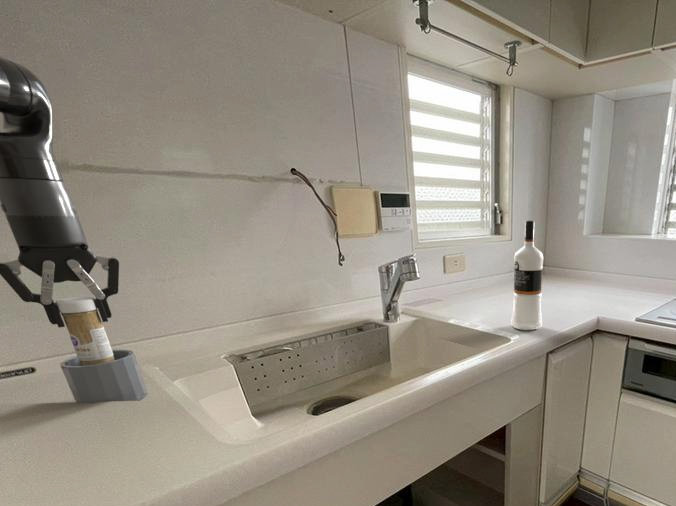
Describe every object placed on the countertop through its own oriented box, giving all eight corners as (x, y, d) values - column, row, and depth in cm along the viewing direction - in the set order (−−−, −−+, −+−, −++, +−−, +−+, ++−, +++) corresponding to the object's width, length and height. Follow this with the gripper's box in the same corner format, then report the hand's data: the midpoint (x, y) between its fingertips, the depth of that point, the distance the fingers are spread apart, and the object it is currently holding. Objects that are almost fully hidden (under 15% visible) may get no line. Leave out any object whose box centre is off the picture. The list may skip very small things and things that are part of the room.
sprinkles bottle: (77, 379, 68) (45, 301, 63) (103, 370, 72) (76, 295, 67) (103, 380, 68) (73, 301, 63) (127, 371, 72) (101, 296, 67)
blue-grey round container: (62, 412, 67) (43, 367, 64) (108, 390, 76) (92, 350, 73) (121, 410, 68) (104, 366, 65) (159, 389, 77) (146, 349, 74)
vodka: (546, 329, 118) (551, 220, 107) (516, 331, 116) (518, 220, 105) (535, 322, 126) (539, 220, 115) (507, 324, 124) (508, 220, 113)
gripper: (105, 213, 68) (137, 313, 74) (-29, 212, 58) (21, 326, 64) (108, 214, 63) (142, 320, 69) (-38, 212, 53) (17, 336, 60)
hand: (83, 323), depth 67 cm, fingers closed on sprinkles bottle, 4 cm apart
